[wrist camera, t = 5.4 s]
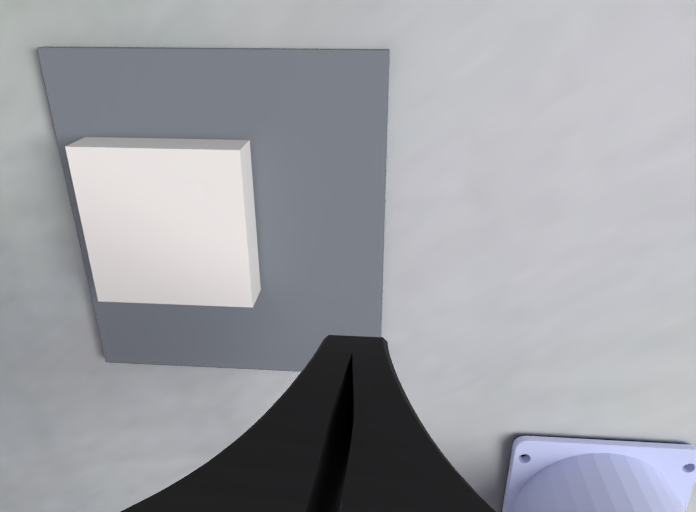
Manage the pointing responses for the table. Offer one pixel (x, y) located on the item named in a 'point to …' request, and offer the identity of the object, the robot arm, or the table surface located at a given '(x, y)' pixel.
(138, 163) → the tile
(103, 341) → the mat
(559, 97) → the table surface
